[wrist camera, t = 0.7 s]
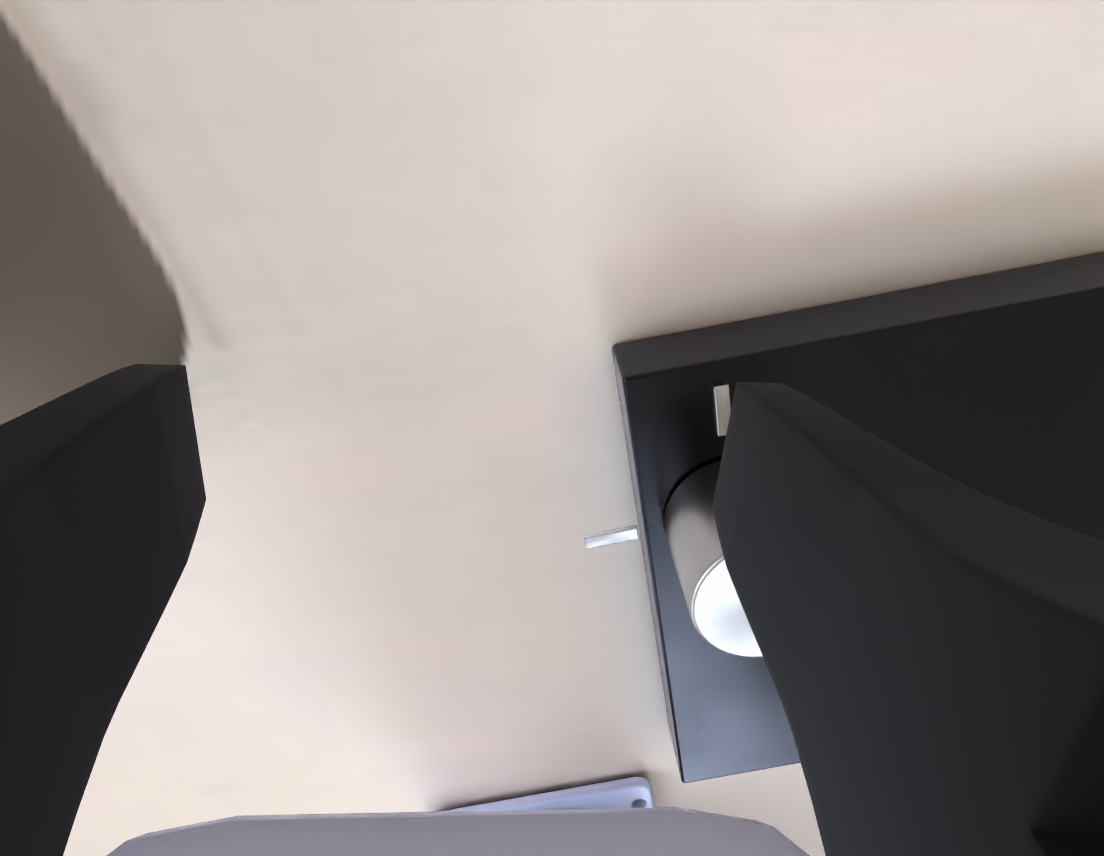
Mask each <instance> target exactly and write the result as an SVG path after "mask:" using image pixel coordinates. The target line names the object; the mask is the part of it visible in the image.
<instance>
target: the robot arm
mask: <svg viewBox="0 0 1104 856" xmlns="http://www.w3.org/2000/svg"><path fill="white" fill-rule="evenodd" d="M205 501H206V496H205V489H204V483H203V476H202V470H201V463H200V457H199V451H198V444H197V438H196V431H195V425H194V418H193V412H192V405H191V399H190V392H189V386H188V379H187V373H186V366H185V365H151V364H134V365H131V366H128V367H125V368H122V369H119V370H117V371H114V372H112V373H109V374H107V375H105V376H102V377H100V378H98V379H96V380H94V381H92V382H89V383H87V384H85V385H83V386H81V387H79V388H77V389H75V390H73V391H71V392H68V393H66V394H64V395H62V396H60V397H58V398H56V399H54V400H52V401H50V402H48V403H46V404H44V405H41V406H39V407H37V408H35V409H33V410H31V411H29V412H27V413H25V414H23V415H21V416H19V417H17V418H15V419H12V420H10V421H8V422H6V423H4V424H2V425H0V856H63V853H64V850H65V847H66V844H67V841H68V838H69V835H70V832H71V829H72V826H73V823H74V820H75V817H76V814H77V811H78V808H79V805H80V802H81V799H82V797H83V794H84V791H85V788H86V785H87V783H88V780H89V777H90V774H91V771H92V768H93V766H94V763H95V760H96V757H97V754H98V752H99V749H100V746H101V743H102V740H103V738H104V735H105V733H106V731H107V728H108V726H109V724H110V721H111V719H112V717H113V714H114V712H115V710H116V708H117V705H118V703H119V701H120V699H121V697H122V695H123V693H124V691H125V689H126V687H127V685H128V683H129V681H130V679H131V677H132V675H133V672H134V670H135V668H136V666H137V664H138V662H139V660H140V658H141V656H142V654H143V652H144V650H145V648H146V646H147V644H148V642H149V640H150V638H151V636H152V634H153V632H154V630H155V628H156V626H157V624H158V622H159V620H160V618H161V616H162V614H163V612H164V610H165V607H166V605H167V603H168V601H169V599H170V597H171V595H172V593H173V591H174V589H175V587H176V585H177V582H178V580H179V578H180V576H181V574H182V572H183V570H184V567H185V565H186V563H187V561H188V557H189V554H190V551H191V548H192V545H193V542H194V539H195V536H196V533H197V529H198V526H199V522H200V519H201V515H202V512H203V508H204V505H205ZM712 509H713V514H714V518H715V523H716V527H717V531H718V536H719V540H720V544H721V548H722V552H723V556H724V560H725V564H726V567H727V570H728V572H729V575H730V578H731V580H732V583H733V585H734V588H735V590H736V593H737V595H738V598H739V600H740V603H741V605H742V607H743V610H744V612H745V615H746V617H747V620H748V622H749V624H750V627H751V629H752V632H753V634H754V637H755V639H756V641H757V644H758V646H759V649H760V651H761V653H762V656H763V658H764V661H765V663H766V665H767V668H768V670H769V673H770V675H771V677H772V680H773V682H774V685H775V687H776V690H777V692H778V694H779V697H780V699H781V702H782V705H783V708H784V710H785V713H786V716H787V719H788V721H789V724H790V727H791V730H792V733H793V737H794V740H795V744H796V747H797V751H798V754H799V758H800V761H801V765H802V768H803V772H804V775H805V779H806V782H807V786H808V789H809V793H810V796H811V800H812V804H813V807H814V811H815V815H816V819H817V823H818V827H819V831H820V835H821V838H822V842H823V846H824V850H825V854H826V856H1104V541H1101V540H1098V539H1095V538H1092V537H1089V536H1087V535H1084V534H1081V533H1078V532H1075V531H1072V530H1069V529H1067V528H1064V527H1062V526H1059V525H1056V524H1054V523H1051V522H1049V521H1046V520H1043V519H1041V518H1039V517H1036V516H1034V515H1031V514H1029V513H1027V512H1025V511H1022V510H1020V509H1018V508H1015V507H1013V506H1011V505H1008V504H1006V503H1004V502H1001V501H999V500H997V499H994V498H992V497H990V496H988V495H985V494H983V493H981V492H979V491H977V490H975V489H973V488H971V487H968V486H966V485H964V484H962V483H960V482H958V481H956V480H954V479H953V478H951V477H949V476H947V475H945V474H943V473H941V472H939V471H937V470H935V469H933V468H931V467H930V466H928V465H926V464H924V463H922V462H920V461H918V460H916V459H915V458H913V457H911V456H909V455H907V454H906V453H904V452H902V451H900V450H898V449H897V448H895V447H893V446H891V445H890V444H888V443H886V442H885V441H883V440H881V439H879V438H878V437H876V436H874V435H873V434H871V433H869V432H868V431H866V430H864V429H862V428H861V427H859V426H857V425H856V424H854V423H852V422H851V421H849V420H847V419H846V418H844V417H842V416H841V415H839V414H837V413H836V412H834V411H832V410H831V409H829V408H827V407H826V406H824V405H822V404H820V403H819V402H817V401H815V400H813V399H812V398H810V397H808V396H806V395H804V394H803V393H801V392H799V391H797V390H795V389H793V388H790V387H788V386H786V385H783V384H780V383H751V382H736V387H735V392H734V397H733V402H732V407H731V412H730V418H729V423H728V428H727V433H726V438H725V443H724V448H723V454H722V459H721V464H720V469H719V474H718V479H717V484H716V490H715V495H714V500H713V505H712ZM107 856H809V855H808V854H807V853H805V852H804V851H803V850H802V849H800V848H799V847H798V846H797V845H795V844H794V843H793V842H792V841H790V840H789V839H788V838H787V837H785V836H784V835H783V834H782V833H780V832H779V831H778V830H777V829H775V828H774V827H773V826H770V825H767V824H764V823H761V822H758V821H755V820H749V819H743V818H737V817H731V816H725V815H719V814H713V813H707V812H701V811H695V810H689V809H683V808H677V807H661V808H654V803H653V798H652V792H651V787H650V783H649V781H648V780H647V779H645V778H642V777H631V778H625V779H620V780H614V781H608V782H603V783H597V784H592V785H586V786H580V787H575V788H569V789H564V790H558V791H552V792H547V793H541V794H536V795H530V796H524V797H519V798H513V799H508V800H502V801H496V802H491V803H485V804H480V805H474V806H468V807H463V808H457V809H451V810H446V811H440V812H402V813H351V814H299V815H247V816H234V817H229V818H224V819H219V820H214V821H208V822H203V823H198V824H193V825H188V826H183V827H177V828H172V829H167V830H162V831H157V832H152V833H147V834H144V835H141V836H138V837H136V838H133V839H130V840H127V841H126V842H124V843H123V844H122V845H120V846H119V847H118V848H116V849H115V850H114V851H112V852H111V853H110V854H108V855H107Z"/></svg>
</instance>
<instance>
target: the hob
mask: <svg viewBox="0 0 1104 856" xmlns="http://www.w3.org/2000/svg"><path fill="white" fill-rule="evenodd" d="M612 353H613V360H614V366H615V373H616V380H617V386H618V393H619V399H620V406H621V412H622V419H623V425H624V432H625V438H626V445H627V452H628V458H629V465H630V471H631V478H632V484H633V491H634V497H635V504H636V511H637V517H638V524H639V530H640V537H641V543H642V550H643V556H644V563H645V570H646V576H647V583H648V589H649V596H650V602H651V609H652V615H653V622H654V629H655V635H656V642H657V648H658V655H659V661H660V668H661V674H662V681H663V688H664V694H665V701H666V707H667V714H668V720H669V727H670V733H671V738H672V743H673V747H674V751H675V755H676V759H677V763H678V768H679V772H680V776H681V780H682V782H683V783H688V782H694V781H700V780H705V779H711V778H716V777H722V776H728V775H733V774H739V773H745V772H750V771H756V770H761V769H767V768H773V767H778V766H784V765H789V764H795V763H801V761H800V758H799V754H798V751H797V747H796V744H795V740H794V737H793V733H792V730H791V727H790V724H789V721H788V719H787V716H786V713H785V710H784V708H783V705H782V702H781V699H780V697H779V694H778V692H777V690H776V687H775V685H774V682H773V680H772V677H771V675H770V673H769V670H768V668H767V665H766V663H765V661H764V658H763V657H742V656H736V655H732V654H728V653H725V652H723V651H721V650H718V649H717V648H715V647H713V646H712V645H710V644H709V643H708V642H707V641H706V640H704V639H703V638H702V636H701V635H700V634H699V633H698V631H697V630H696V628H695V627H694V624H693V622H692V619H691V616H690V613H689V609H688V606H687V603H686V600H685V597H684V593H683V590H682V587H681V584H680V580H679V577H678V574H677V571H676V568H675V564H674V561H673V558H672V555H671V551H670V548H669V545H668V542H667V539H666V535H665V531H664V515H665V511H666V507H667V504H668V502H669V500H670V498H671V496H672V494H673V493H674V491H675V490H676V488H677V487H678V486H679V485H680V484H681V483H682V482H683V481H684V480H685V479H686V478H687V477H688V476H689V475H691V474H692V473H693V472H695V471H696V470H698V469H700V468H701V467H703V466H705V465H708V464H710V463H713V462H715V461H718V460H721V459H722V454H723V448H724V443H725V438H726V433H727V428H728V423H729V418H730V412H731V407H732V402H733V397H734V392H735V387H736V382H751V383H780V384H783V385H786V386H788V387H790V388H793V389H795V390H797V391H799V392H801V393H803V394H804V395H806V396H808V397H810V398H812V399H813V400H815V401H817V402H819V403H820V404H822V405H824V406H826V407H827V408H829V409H831V410H832V411H834V412H836V413H837V414H839V415H841V416H842V417H844V418H846V419H847V420H849V421H851V422H852V423H854V424H856V425H857V426H859V427H861V428H862V429H864V430H866V431H868V432H869V433H871V434H873V435H874V436H876V437H878V438H879V439H881V440H883V441H885V442H886V443H888V444H890V445H891V446H893V447H895V448H897V449H898V450H900V451H902V452H904V453H906V454H907V455H909V456H911V457H913V458H915V459H916V460H918V461H920V462H922V463H924V464H926V465H928V466H930V467H931V468H933V469H935V470H937V471H939V472H941V473H943V474H945V475H947V476H949V477H951V478H953V479H954V480H956V481H958V482H960V483H962V484H964V485H966V486H968V487H971V488H973V489H975V490H977V491H979V492H981V493H983V494H985V495H988V496H990V497H992V498H994V499H997V500H999V501H1001V502H1004V503H1006V504H1008V505H1011V506H1013V507H1015V508H1018V509H1020V510H1022V511H1025V512H1027V513H1029V514H1031V515H1034V516H1036V517H1039V518H1041V519H1043V520H1046V521H1049V522H1051V523H1054V524H1056V525H1059V526H1062V527H1064V528H1067V529H1069V530H1072V531H1075V532H1078V533H1081V534H1084V535H1087V536H1089V537H1092V538H1095V539H1098V540H1101V541H1104V252H1101V253H1095V254H1090V255H1085V256H1080V257H1074V258H1069V259H1064V260H1059V261H1053V262H1048V263H1043V264H1038V265H1032V266H1027V267H1022V268H1016V269H1011V270H1006V271H1001V272H995V273H990V274H985V275H980V276H974V277H969V278H964V279H959V280H953V281H948V282H943V283H938V284H932V285H927V286H922V287H916V288H911V289H906V290H901V291H895V292H890V293H885V294H880V295H874V296H869V297H864V298H859V299H853V300H848V301H843V302H838V303H832V304H827V305H822V306H817V307H811V308H806V309H801V310H795V311H790V312H785V313H780V314H774V315H769V316H764V317H759V318H753V319H748V320H743V321H738V322H732V323H727V324H722V325H717V326H711V327H706V328H701V329H695V330H690V331H685V332H680V333H674V334H669V335H664V336H659V337H653V338H648V339H643V340H638V341H632V342H627V343H622V344H617V345H614V346H613V347H612ZM636 539H638V532H637V527H636V525H634V526H629V527H624V528H618V529H613V530H607V531H602V532H597V533H591V534H586V535H584V540H585V545H586V549H588V548H593V547H598V546H604V545H609V544H615V543H620V542H625V541H631V540H636Z"/></svg>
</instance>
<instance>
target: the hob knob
mask: <svg viewBox="0 0 1104 856" xmlns="http://www.w3.org/2000/svg"><path fill="white" fill-rule="evenodd" d="M720 464H721V460H718V461H715V462H713V463H710V464H708V465H705V466H703V467H701V468H700V469H698V470H696V471H695V472H693V473H692V474H691V475H689V476H688V477H687V478H686V479H685V480H684V481H683V482H682V483H681V484H680V485H679V486H678V487H677V488H676V490H675V491H674V493H673V494H672V496H671V498H670V500H669V502H668V504H667V507H666V511H665V515H664V531H665V535H666V539H667V542H668V545H669V548H670V551H671V555H672V558H673V561H674V564H675V568H676V571H677V574H678V577H679V580H680V584H681V587H682V590H683V593H684V597H685V600H686V603H687V606H688V609H689V613H690V616H691V619H692V622H693V624H694V627H695V628H696V630H697V631H698V633H699V634H700V635H701V636H702V638H703V639H704V640H706V641H707V642H708V643H709V644H710V645H712V646H713V647H715V648H717V649H718V650H721V651H723V652H725V653H728V654H732V655H736V656H742V657H763V656H762V653H761V651H760V649H759V646H758V644H757V641H756V639H755V637H754V634H753V632H752V629H751V627H750V624H749V622H748V620H747V617H746V615H745V612H744V610H743V607H742V605H741V603H740V600H739V598H738V595H737V593H736V590H735V588H734V585H733V583H732V580H731V578H730V575H729V572H728V570H727V567H726V564H725V560H724V556H723V552H722V548H721V544H720V540H719V536H718V531H717V527H716V523H715V518H714V514H713V509H712V505H713V500H714V495H715V490H716V484H717V479H718V474H719V469H720Z"/></svg>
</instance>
